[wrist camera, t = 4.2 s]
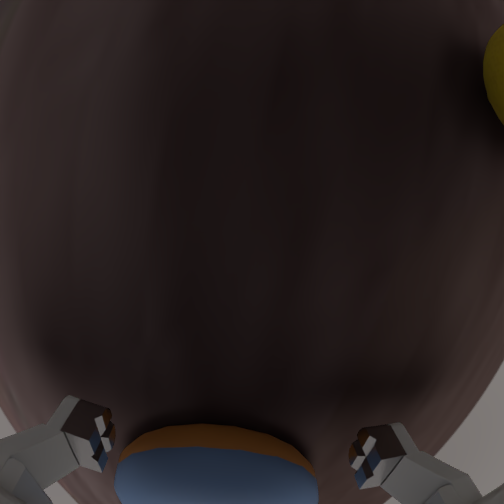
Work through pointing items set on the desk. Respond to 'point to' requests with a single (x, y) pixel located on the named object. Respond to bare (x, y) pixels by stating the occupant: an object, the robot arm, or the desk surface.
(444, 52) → the desk surface
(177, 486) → the doughnut
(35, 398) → the desk surface
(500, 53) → the lemon
